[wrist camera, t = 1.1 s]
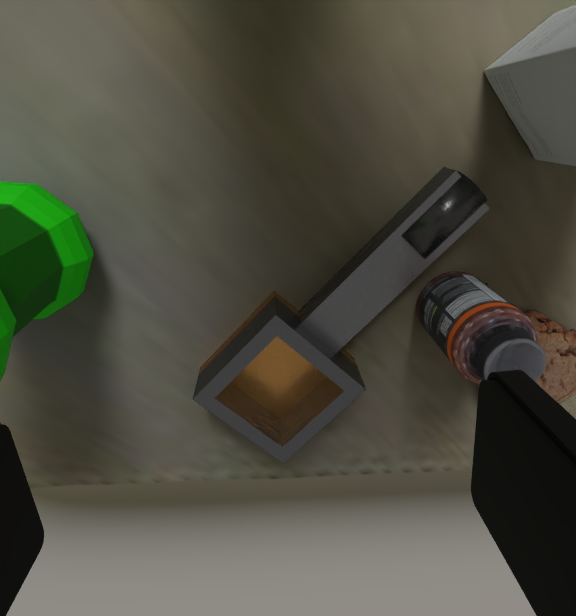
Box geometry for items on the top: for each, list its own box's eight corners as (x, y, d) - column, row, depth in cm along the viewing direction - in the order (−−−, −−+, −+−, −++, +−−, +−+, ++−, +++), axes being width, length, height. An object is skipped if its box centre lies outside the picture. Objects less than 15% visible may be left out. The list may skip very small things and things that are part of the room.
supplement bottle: (487, 324, 41) (564, 396, 31) (420, 341, 41) (473, 418, 31) (480, 260, 39) (561, 315, 28) (409, 279, 39) (463, 340, 29)
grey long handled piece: (421, 138, 35) (446, 142, 30) (499, 224, 38) (532, 240, 33) (200, 367, 41) (192, 399, 37) (281, 426, 44) (283, 463, 39)
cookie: (572, 398, 45) (592, 417, 42) (462, 408, 45) (475, 428, 42) (589, 301, 41) (613, 315, 38) (469, 312, 41) (484, 327, 38)
